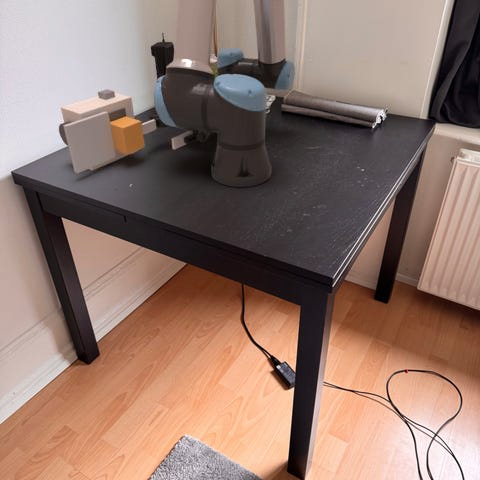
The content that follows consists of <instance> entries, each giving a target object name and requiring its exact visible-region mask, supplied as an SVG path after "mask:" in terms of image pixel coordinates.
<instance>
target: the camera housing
mask: <svg viewBox="0 0 480 480" xmlns="http://www.w3.org/2000/svg"><path fill="white" fill-rule="evenodd" d="M60 110H61V111H60V112H61V115H62V118H63V122H62V123H60V124H59V125H58V133H59V136H60V139H62V141H63V143H64V144H65V145H66V146H67V147H68V143H67V138H66V134H65V130H64V126H63V125H66V124H69V123H72V122H75V121H78V120H81V119H84V118H87V117H90V116H93V115H96V114H99V113H102V112H105V111H106V112H108V114H109V120H110V122H112V121H115V120H117V119H120V118H123V117H129V118H133V119H135V114H134V113H135V112H134V105H133V99H132V97H131V96H129V95H125V94H121V93H118V92H115V91H114V90H112V89H111V90H110V89H104V90H101V91H98V92H97V96H93V97H90V98H87V99H84V100H80V101H77V102H74V103H71V104H68V105H63V106H60ZM139 151H140V149H139V150H137V151H134V152H132V153H130V154H124V153H122V152H119V151H117V150H115V153H116V157H115V158H113V159H110V160H108V161H106V162H103V163H101V164H98V165H96V166H94V167H91V168H89V169H88V170H90V171H95V170H97V169H99V168H101V167H104V166H106V165H109V164H110V163H114V162H116V161H118V160H120V159H122V158H123V159H124V157H127V156H130V155H132V154H134V153H137V152H139Z"/></svg>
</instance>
